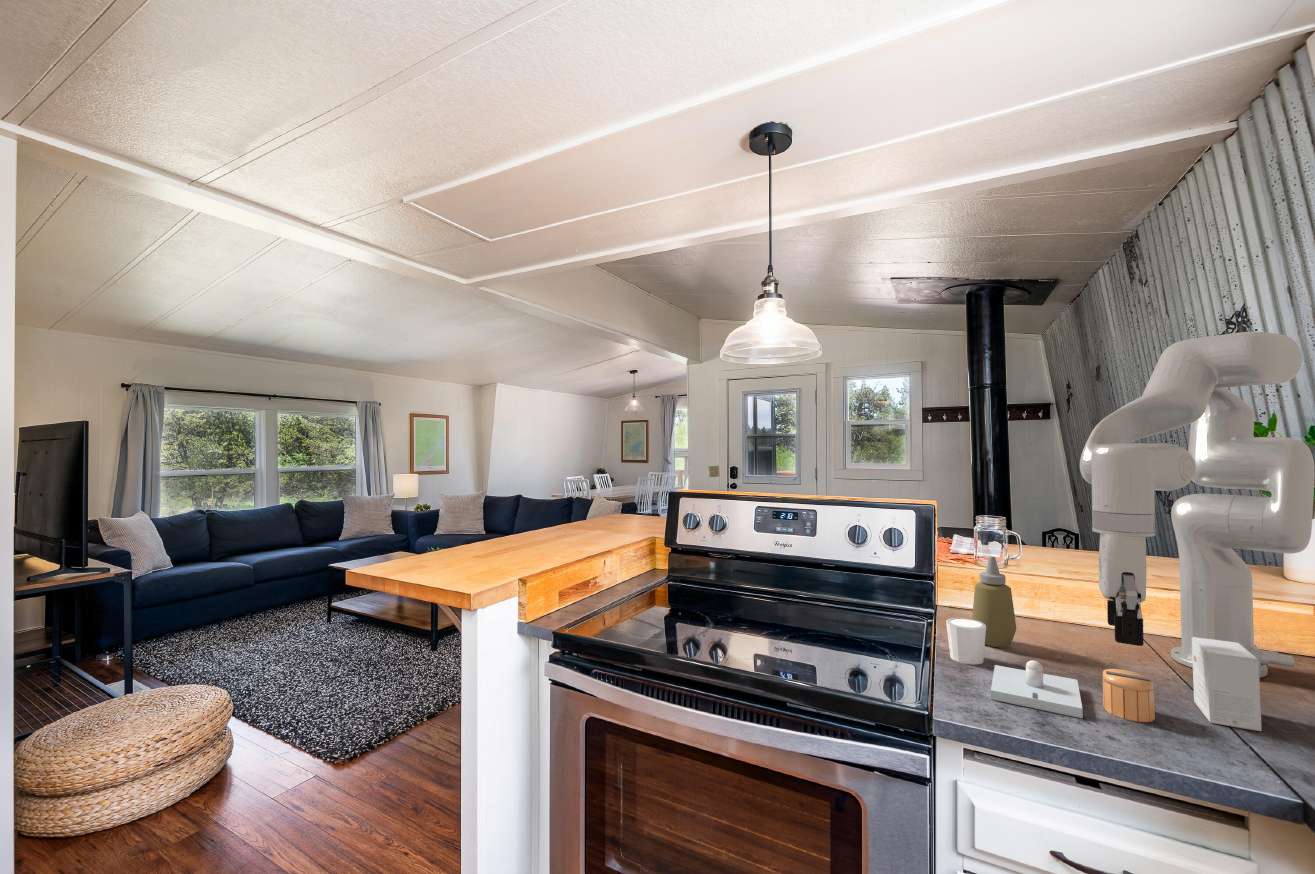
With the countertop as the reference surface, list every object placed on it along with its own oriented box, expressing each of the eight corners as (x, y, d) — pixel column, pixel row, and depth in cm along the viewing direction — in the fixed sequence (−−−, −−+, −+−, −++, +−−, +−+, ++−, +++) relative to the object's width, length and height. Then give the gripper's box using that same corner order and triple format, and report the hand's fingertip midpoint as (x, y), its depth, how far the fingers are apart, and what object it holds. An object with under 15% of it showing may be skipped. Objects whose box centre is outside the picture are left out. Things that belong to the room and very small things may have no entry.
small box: (1262, 733, 80) (1260, 659, 80) (1208, 723, 82) (1206, 652, 83) (1241, 709, 86) (1239, 641, 86) (1193, 701, 89) (1191, 635, 89)
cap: (1150, 709, 87) (1149, 672, 87) (1157, 725, 82) (1156, 686, 82) (1101, 699, 90) (1100, 664, 90) (1105, 715, 85) (1104, 677, 85)
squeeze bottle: (1026, 650, 112) (1024, 560, 112) (985, 650, 112) (983, 561, 112) (1001, 636, 120) (999, 552, 120) (964, 636, 120) (962, 553, 120)
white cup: (992, 666, 104) (992, 629, 104) (953, 664, 105) (952, 627, 106) (979, 652, 111) (978, 617, 111) (942, 651, 112) (941, 616, 112)
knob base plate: (1077, 688, 95) (1076, 656, 95) (1082, 718, 85) (1081, 682, 85) (995, 673, 101) (994, 642, 101) (991, 699, 91) (990, 665, 91)
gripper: (1087, 516, 96) (1089, 616, 95) (1097, 528, 81) (1099, 646, 81) (1145, 519, 91) (1147, 624, 91) (1166, 532, 77) (1168, 657, 77)
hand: (1124, 634), depth 86 cm, fingers open, 9 cm apart
